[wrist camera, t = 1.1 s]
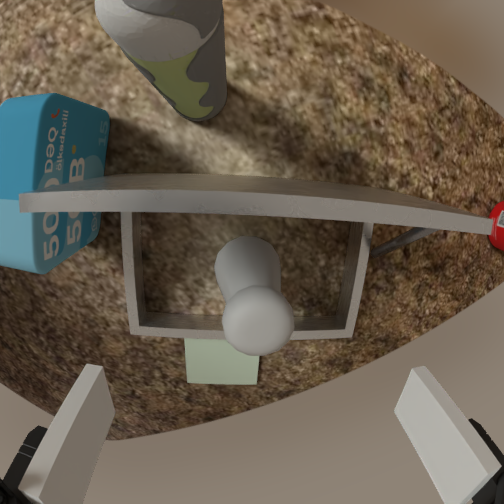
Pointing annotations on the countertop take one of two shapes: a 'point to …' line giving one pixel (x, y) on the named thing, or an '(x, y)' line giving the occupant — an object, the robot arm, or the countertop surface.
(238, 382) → the pad
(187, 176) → the case
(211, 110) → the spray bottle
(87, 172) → the data package
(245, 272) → the salt shaker
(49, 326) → the countertop surface
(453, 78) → the countertop surface
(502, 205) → the beverage can
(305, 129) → the countertop surface
